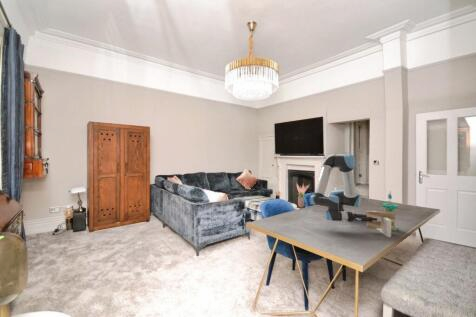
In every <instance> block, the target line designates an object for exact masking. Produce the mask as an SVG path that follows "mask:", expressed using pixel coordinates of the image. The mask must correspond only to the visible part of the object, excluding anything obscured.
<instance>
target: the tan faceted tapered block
mask: <svg viewBox="0 0 476 317" xmlns="http://www.w3.org/2000/svg"><path fill="white" fill-rule="evenodd" d="M375 211H376V210H371V211H370V210H366V215H367V217H381V218H382V221H383V217H387V218H388V219H390V220H391V229H394V226H395V222H396V221H395V219H396V218H395V216H396V215H395V214H396V213H395V212H394V213H393V212H386V211H377V212H375ZM365 223H366V228H367V229H376V228H379V229H381V221H372V222H369V221H365Z"/></svg>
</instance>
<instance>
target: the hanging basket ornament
mask: <svg viewBox="0 0 476 317" xmlns="http://www.w3.org/2000/svg"><path fill="white" fill-rule="evenodd" d="M392 196H393V195H392V191H391V190H389V193H388V194H387V198H388V201H387V202H386V203H382V204H381V207H382V208H385V212H393V213H395V210H396V209H398V208H399V205H397V204H394V203H392V201H391V199H393V197H392ZM397 230H399V227H398V226H396V225H394V229H391V232H392V231H397Z"/></svg>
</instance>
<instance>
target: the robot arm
mask: <svg viewBox="0 0 476 317" xmlns="http://www.w3.org/2000/svg"><path fill="white" fill-rule="evenodd" d="M320 167H321V171H320V175H319V178H318V181H317V185H316V188H315V192H314V194H312V195H310V197H309V202H310V204H312V205H314V206H320V207H321V206H322V207H326V208H327V210H325V211H324V219H325V220H326V221H330V222H331V221H332V222H342V223H344V222H347V223H353V222H354V221H358V222H366V221H369V222H372V221H382V218H381V217H367V214H360V213H353V212H352V211H345V208H344V206H346V207H347V206H348V207H354V208H355V207H356V208H359V207H360V205H361V202H362V195H361V194H360V193H359V192H358V191H357V190H356V183H355V179H354V173H353V170H354V169H355V168H356V159H355V156H354V155H353V154H349V153H345V154H344V153H342V154H341V153H332V154H330V155H328V156H327V157H326V158H325V159H324V160H323V161H322V163H321V166H320ZM334 168H338V171H339V172H341V177H342V182H343V186H344V190H342V189H341V190H340V189H339V190H331V191H330V194H329V195H328V196H325V193H326V191H327V186H328V183H329V180H330V176H331V172H332V171H333V170H334Z"/></svg>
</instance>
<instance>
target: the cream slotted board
mask: <svg viewBox="0 0 476 317" xmlns="http://www.w3.org/2000/svg"><path fill="white" fill-rule="evenodd" d="M374 211H375V212H378V211H376V210H374ZM375 229H377V231H379V232H380V233H382V234H383V235H384V236H385V237H387V238H391V237H392V230H391V220H390V219H388V218H387V217H383V221H381V229H379V228H375Z"/></svg>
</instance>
